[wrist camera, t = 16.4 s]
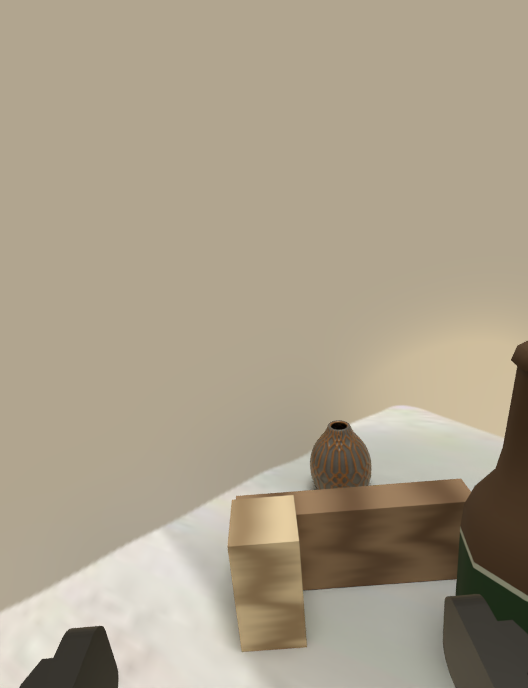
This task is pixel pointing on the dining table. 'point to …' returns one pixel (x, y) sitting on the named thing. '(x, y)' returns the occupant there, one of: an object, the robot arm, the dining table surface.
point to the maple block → (267, 573)
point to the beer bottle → (501, 518)
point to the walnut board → (378, 533)
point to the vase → (340, 458)
